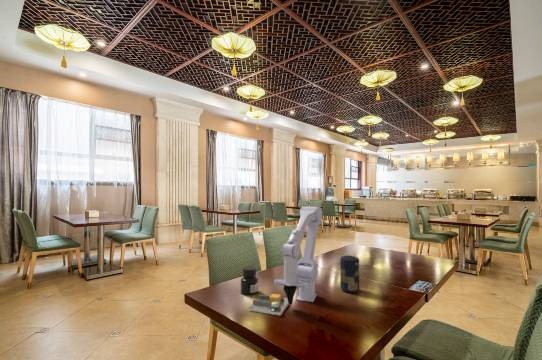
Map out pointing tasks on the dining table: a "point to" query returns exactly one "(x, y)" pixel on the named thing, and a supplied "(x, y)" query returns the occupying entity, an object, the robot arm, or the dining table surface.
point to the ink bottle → (249, 281)
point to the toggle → (275, 298)
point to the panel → (268, 305)
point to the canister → (349, 273)
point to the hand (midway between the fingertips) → (290, 303)
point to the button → (275, 304)
